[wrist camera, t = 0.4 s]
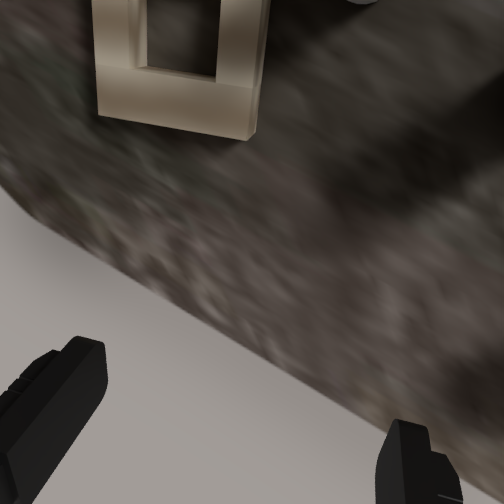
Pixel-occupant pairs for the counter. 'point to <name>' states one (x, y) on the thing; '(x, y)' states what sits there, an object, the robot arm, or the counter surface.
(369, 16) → the counter surface
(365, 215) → the counter surface
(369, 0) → the beverage can
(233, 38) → the frame
